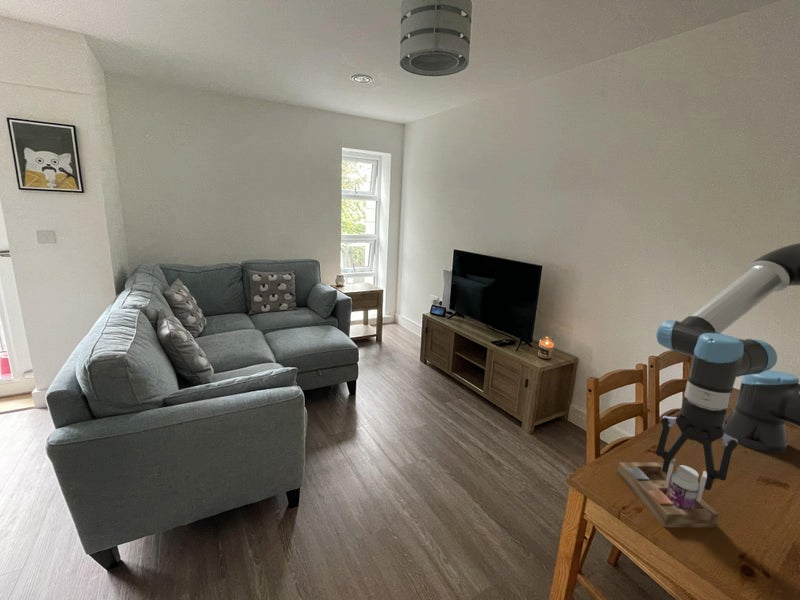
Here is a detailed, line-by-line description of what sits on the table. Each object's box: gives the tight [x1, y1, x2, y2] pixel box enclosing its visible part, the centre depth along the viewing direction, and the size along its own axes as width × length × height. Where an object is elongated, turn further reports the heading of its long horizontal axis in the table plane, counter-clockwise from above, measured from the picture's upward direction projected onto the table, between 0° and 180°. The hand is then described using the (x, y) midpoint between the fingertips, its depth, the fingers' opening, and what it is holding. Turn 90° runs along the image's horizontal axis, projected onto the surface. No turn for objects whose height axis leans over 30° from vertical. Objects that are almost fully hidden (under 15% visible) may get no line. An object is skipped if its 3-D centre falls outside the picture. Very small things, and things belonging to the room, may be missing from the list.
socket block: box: [616, 461, 719, 528], centre depth 91 cm, size 12×18×4 cm
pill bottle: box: [666, 464, 700, 509], centre depth 85 cm, size 5×5×10 cm
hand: (682, 491), depth 86 cm, fingers closed on pill bottle, 5 cm apart
